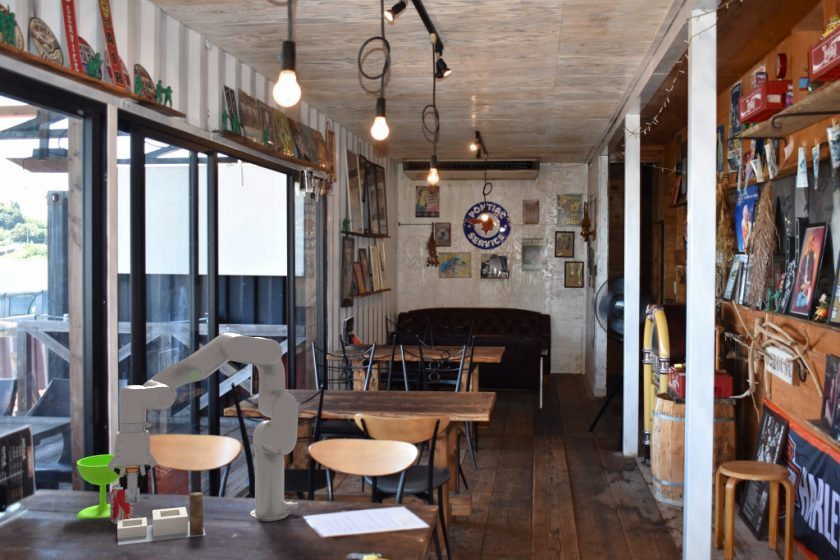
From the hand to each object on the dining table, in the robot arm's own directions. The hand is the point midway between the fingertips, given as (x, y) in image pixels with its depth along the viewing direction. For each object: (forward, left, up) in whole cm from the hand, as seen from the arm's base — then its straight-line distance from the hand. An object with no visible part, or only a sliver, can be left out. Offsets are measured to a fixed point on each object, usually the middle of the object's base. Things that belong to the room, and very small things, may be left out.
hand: (132, 487), depth 230 cm
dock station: (-8, -5, -17) cm, 19 cm away
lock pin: (0, 0, -4) cm, 4 cm away
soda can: (+3, -21, -17) cm, 27 cm away
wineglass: (+9, -33, -17) cm, 38 cm away
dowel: (-19, 0, -16) cm, 24 cm away
